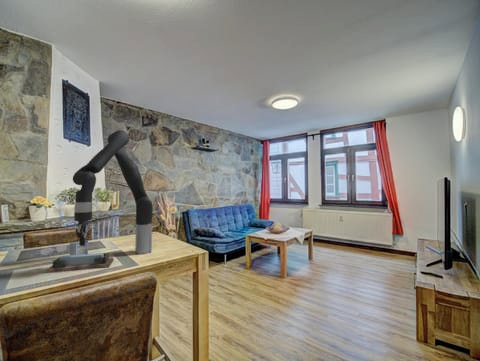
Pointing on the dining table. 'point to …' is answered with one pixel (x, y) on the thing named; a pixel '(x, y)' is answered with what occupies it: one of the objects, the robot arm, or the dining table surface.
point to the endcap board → (98, 263)
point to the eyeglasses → (50, 250)
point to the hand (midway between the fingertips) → (82, 245)
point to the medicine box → (78, 248)
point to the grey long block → (81, 259)
